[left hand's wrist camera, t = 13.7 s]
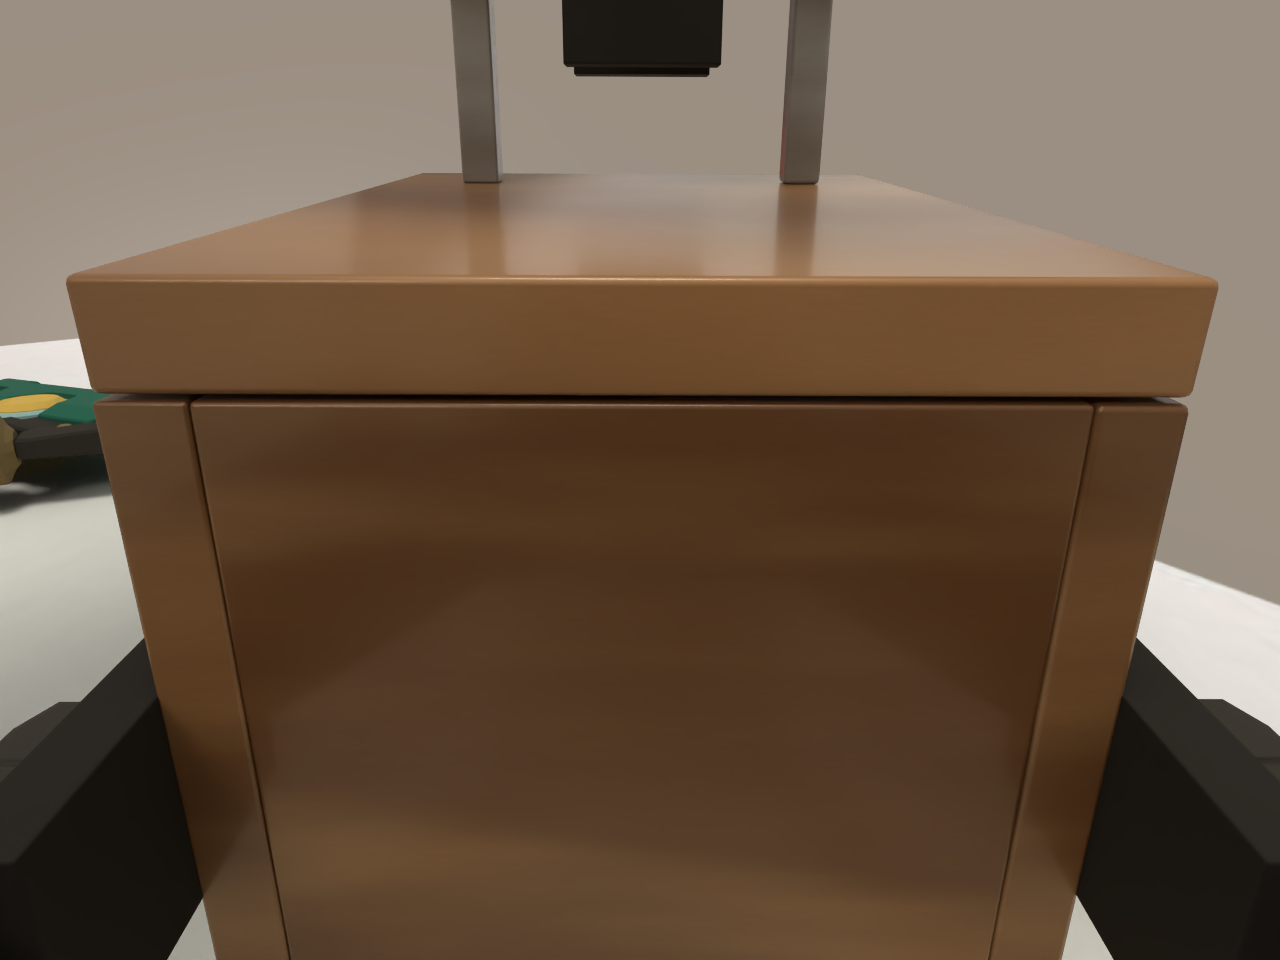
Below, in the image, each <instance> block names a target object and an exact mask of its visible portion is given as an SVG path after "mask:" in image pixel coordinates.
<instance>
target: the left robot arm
mask: <svg viewBox="0 0 1280 960" xmlns="http://www.w3.org/2000/svg"><path fill="white" fill-rule="evenodd" d="M1077 897H1078V898H1079V900H1080V902H1081V904H1082V905H1083V907H1084V909H1085V911H1086V912H1087V914H1088V916H1089V918H1090V919H1091V921H1092V923H1093V924H1094V926H1095V928H1096V930H1097V931H1098V933H1099V935H1100V937H1101V938H1102V940H1103V942H1104V944H1105V945H1106V947H1107V949H1108V950H1109V952H1110V954H1111V956H1112V957H1113V959H1114V960H1280V736H1279V735H1278V734H1277V733H1275V732H1274V731H1273V730H1272V729H1271V728H1270V727H1269V726H1268V725H1266V724H1264V723H1262V722H1261V721H1259V720H1257V719H1256V718H1254V717H1252V716H1250V715H1249V714H1247V713H1245V712H1244V711H1242V710H1240V709H1238V708H1237V707H1235V706H1233V705H1232V704H1230V703H1228V702H1226V701H1225V700H1223V699H1197V698H1196V697H1195V696H1194V695H1193V694H1192V693H1191V692H1190V691H1189V690H1188V689H1187V688H1186V687H1185V686H1184V685H1183V684H1182V683H1181V682H1180V681H1179V680H1178V679H1177V678H1176V677H1175V676H1174V675H1173V674H1172V673H1171V672H1170V671H1169V670H1168V669H1167V668H1166V667H1165V666H1164V665H1163V664H1162V663H1161V662H1160V661H1159V660H1158V659H1157V658H1156V657H1155V656H1154V655H1153V654H1152V653H1151V652H1150V651H1149V650H1148V649H1147V648H1146V647H1145V646H1144V645H1143V644H1142V643H1141V642H1140V641H1139V640H1138V639H1137V638H1136V641H1135V645H1134V649H1133V653H1132V658H1131V662H1130V666H1129V671H1128V675H1127V679H1126V684H1125V688H1124V692H1123V696H1122V699H1121V704H1120V708H1119V712H1118V717H1117V721H1116V725H1115V730H1114V734H1113V738H1112V743H1111V747H1110V752H1109V756H1108V760H1107V765H1106V769H1105V773H1104V778H1103V782H1102V787H1101V791H1100V795H1099V800H1098V804H1097V808H1096V813H1095V817H1094V821H1093V826H1092V830H1091V834H1090V839H1089V843H1088V847H1087V851H1086V856H1085V860H1084V864H1083V869H1082V873H1081V877H1080V882H1079V886H1078V890H1077ZM202 898H203V893H202V889H201V884H200V880H199V875H198V871H197V867H196V862H195V858H194V853H193V849H192V845H191V840H190V836H189V831H188V827H187V822H186V818H185V814H184V809H183V805H182V800H181V796H180V792H179V787H178V783H177V778H176V774H175V770H174V765H173V761H172V756H171V752H170V747H169V743H168V739H167V734H166V730H165V725H164V721H163V717H162V712H161V708H160V703H159V699H158V696H157V692H156V687H155V683H154V678H153V674H152V669H151V665H150V660H149V656H148V651H147V647H146V642H145V638H144V639H143V640H142V641H141V642H140V643H139V644H138V645H137V646H136V647H135V648H134V649H133V650H132V651H131V652H130V653H129V654H128V655H127V656H126V657H125V658H124V659H123V660H122V661H121V662H120V663H119V664H118V665H117V666H116V667H115V668H114V669H113V670H112V671H111V672H110V673H109V674H108V675H107V676H106V677H105V678H104V679H103V680H102V681H101V682H100V683H99V684H98V685H97V686H96V687H95V688H94V689H93V690H92V691H91V692H90V693H89V694H88V695H87V696H86V697H85V698H84V699H83V700H82V701H81V702H59V703H57V704H55V705H53V706H52V707H50V708H48V709H47V710H45V711H43V712H41V713H40V714H38V715H36V716H35V717H33V718H31V719H30V720H28V721H26V722H24V723H23V724H21V725H19V726H18V727H16V728H14V729H13V730H12V731H11V732H10V733H9V734H7V735H6V736H5V737H4V738H3V739H2V740H1V741H0V960H167V959H168V957H169V955H170V954H171V952H172V950H173V949H174V947H175V945H176V943H177V942H178V940H179V938H180V936H181V935H182V933H183V931H184V929H185V928H186V926H187V924H188V923H189V921H190V919H191V917H192V916H193V914H194V912H195V910H196V909H197V907H198V905H199V903H200V902H201V900H202Z"/></svg>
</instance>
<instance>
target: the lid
mask: <svg viewBox="0 0 1280 960" xmlns="http://www.w3.org/2000/svg"><path fill="white" fill-rule="evenodd" d="M832 3H833V0H790V13H789V29H788V46H787V62H786V79H785V95H784V112H783V129H782V145H781V161H780V175H745V174H744V175H743V174H741V175H739V174H503V172H502V153H501V134H500V115H499V96H498V77H497V58H496V39H495V20H494V1H493V0H451V14H452V28H453V43H454V57H455V72H456V86H457V101H458V115H459V130H460V144H461V158H462V173H422V174H419V175H415V176H412V177H408V178H405V179H401V180H398V181H394V182H391V183H387V184H384V185H380V186H377V187H373V188H370V189H366V190H363V191H360V192H356V193H353V194H349V195H346V196H342V197H339V198H335V199H332V200H328V201H325V202H321V203H318V204H314V205H311V206H307V207H304V208H301V209H297V210H293V211H290V212H287V213H283V214H279V215H276V216H273V217H269V218H266V219H262V220H259V221H255V222H252V223H248V224H245V225H242V226H238V227H234V228H231V229H227V230H224V231H221V232H217V233H213V234H210V235H206V236H203V237H199V238H196V239H192V240H189V241H186V242H182V243H179V244H175V245H172V246H168V247H165V248H161V249H158V250H154V251H151V252H147V253H144V254H140V255H137V256H133V257H130V258H127V259H123V260H119V261H116V262H112V263H109V264H106V265H102V266H98V267H95V268H92V269H88V270H85V271H81V272H78V273H74V274H72V275H70V276H68V277H67V281H66V285H67V290H68V294H69V298H70V302H71V306H72V310H73V314H74V318H75V322H76V327H77V331H78V335H79V339H80V343H81V347H82V352H83V356H84V360H85V364H86V368H87V372H88V376H89V380H90V385H91V388H92V389H93V391H94V392H97V393H102V394H332V395H621V396H911V397H1186V396H1189V395H1190V394H1191V392H1192V391H1193V387H1194V383H1195V379H1196V375H1197V371H1198V367H1199V363H1200V359H1201V355H1202V351H1203V347H1204V343H1205V339H1206V335H1207V331H1208V328H1209V324H1210V320H1211V316H1212V312H1213V308H1214V303H1215V300H1216V296H1217V292H1218V282H1217V281H1216V280H1214V279H1212V278H1210V277H1206V276H1203V275H1200V274H1196V273H1193V272H1189V271H1186V270H1182V269H1179V268H1176V267H1172V266H1169V265H1165V264H1162V263H1158V262H1155V261H1152V260H1148V259H1145V258H1141V257H1138V256H1134V255H1131V254H1127V253H1124V252H1121V251H1117V250H1114V249H1110V248H1107V247H1104V246H1100V245H1097V244H1093V243H1090V242H1086V241H1083V240H1080V239H1076V238H1073V237H1069V236H1066V235H1063V234H1059V233H1056V232H1052V231H1049V230H1045V229H1042V228H1038V227H1035V226H1032V225H1028V224H1025V223H1021V222H1018V221H1015V220H1011V219H1008V218H1004V217H1001V216H997V215H994V214H991V213H987V212H984V211H980V210H977V209H973V208H970V207H967V206H963V205H960V204H956V203H953V202H949V201H946V200H943V199H939V198H936V197H932V196H929V195H925V194H922V193H919V192H915V191H912V190H908V189H905V188H902V187H898V186H895V185H891V184H888V183H884V182H881V181H878V180H874V179H871V178H867V177H864V176H860V175H819V172H820V159H821V146H822V133H823V120H824V107H825V94H826V82H827V68H828V55H829V43H830V29H831V16H832Z"/></svg>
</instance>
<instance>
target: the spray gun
mask: <svg viewBox="0 0 1280 960" xmlns="http://www.w3.org/2000/svg"><path fill="white" fill-rule="evenodd" d="M108 395H110V394H102V393H97V392H94V391H93V390H91V389H82V388H74V387H65V386H56V385H47V384H40V383H39V382H35V381H26V380H17V379H3V380H0V485H4V484H9V483H11V482H12V480H13V477H14V474H15V472H16V470H17V468H18V467H19V466H20V464H21V463H22V460H26V459H43V458H56V457H70V456H83V455H97V454H103V450H102V446H101V441H100V437H99V432H98V428H97V423H96V419H95V414H94V410H93V403H94V402H96V401H98V400H100V399H102V398H104V397H106V396H108Z"/></svg>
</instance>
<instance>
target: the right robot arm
mask: <svg viewBox="0 0 1280 960" xmlns="http://www.w3.org/2000/svg"><path fill="white" fill-rule="evenodd" d="M562 17H563V57H564V64H565V65H566V66H567V67H574V74H575V75H576V76H625V77H707V76H708V75H709V68H717V67H719V66H720V65H721V47H722V17H723V0H562Z"/></svg>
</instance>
